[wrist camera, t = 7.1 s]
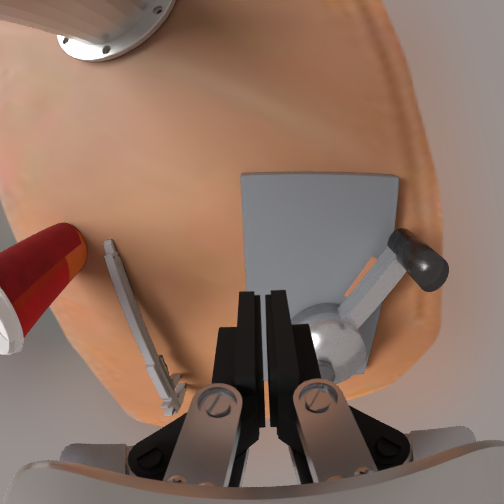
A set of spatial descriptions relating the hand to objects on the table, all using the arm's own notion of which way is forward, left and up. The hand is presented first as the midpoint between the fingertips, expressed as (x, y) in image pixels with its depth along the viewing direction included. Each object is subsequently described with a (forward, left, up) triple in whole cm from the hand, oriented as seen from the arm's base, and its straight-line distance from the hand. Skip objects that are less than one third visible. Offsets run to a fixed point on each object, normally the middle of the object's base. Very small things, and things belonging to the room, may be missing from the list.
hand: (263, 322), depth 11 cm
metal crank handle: (+8, +8, -13) cm, 17 cm away
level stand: (+8, +5, -15) cm, 18 cm away
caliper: (+12, -13, -16) cm, 23 cm away
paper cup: (+3, -21, -15) cm, 26 cm away
